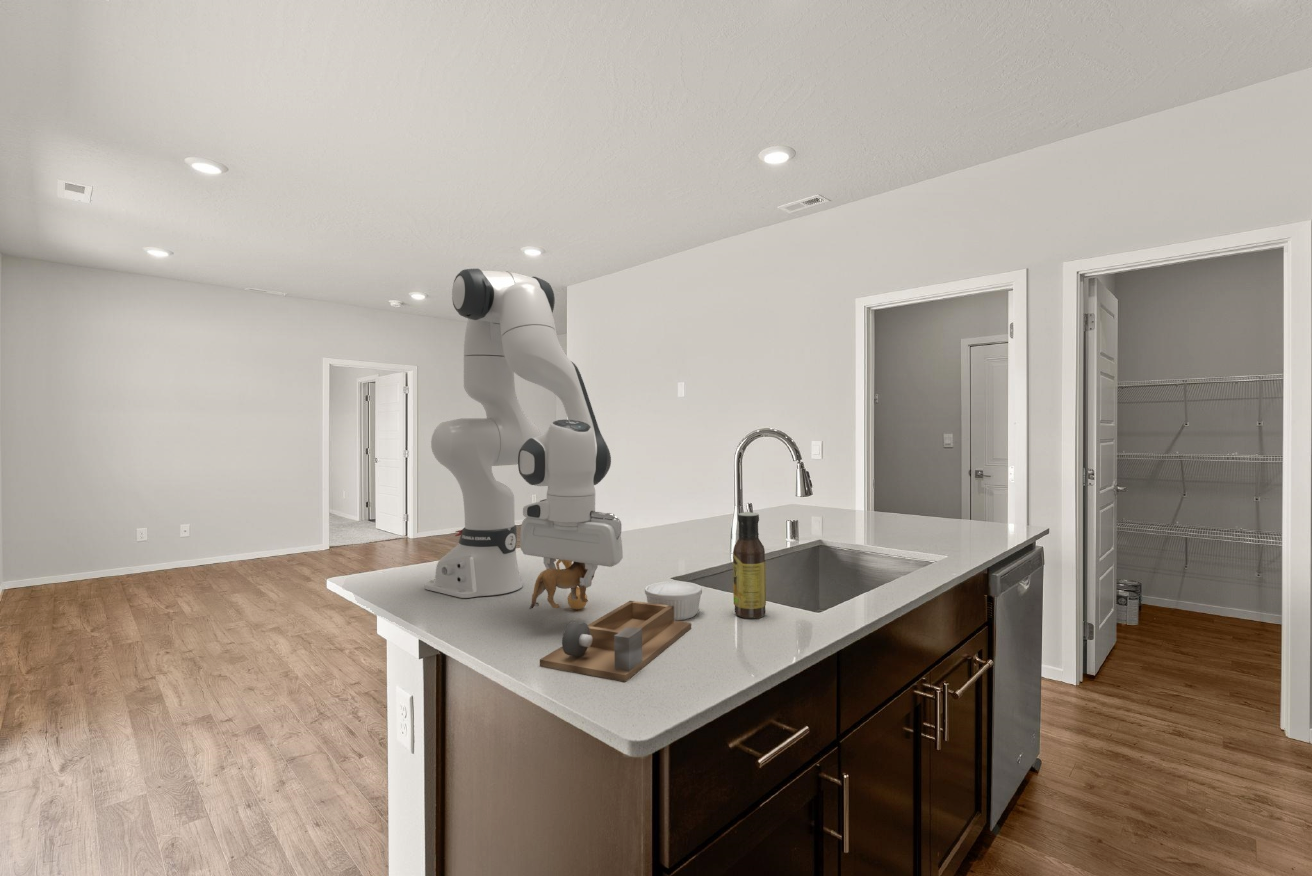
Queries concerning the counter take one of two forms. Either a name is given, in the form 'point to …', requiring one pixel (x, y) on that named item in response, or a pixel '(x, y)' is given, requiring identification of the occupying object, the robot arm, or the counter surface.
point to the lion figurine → (560, 583)
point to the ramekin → (676, 597)
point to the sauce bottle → (749, 569)
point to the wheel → (576, 639)
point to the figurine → (576, 603)
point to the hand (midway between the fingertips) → (570, 583)
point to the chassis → (623, 641)
